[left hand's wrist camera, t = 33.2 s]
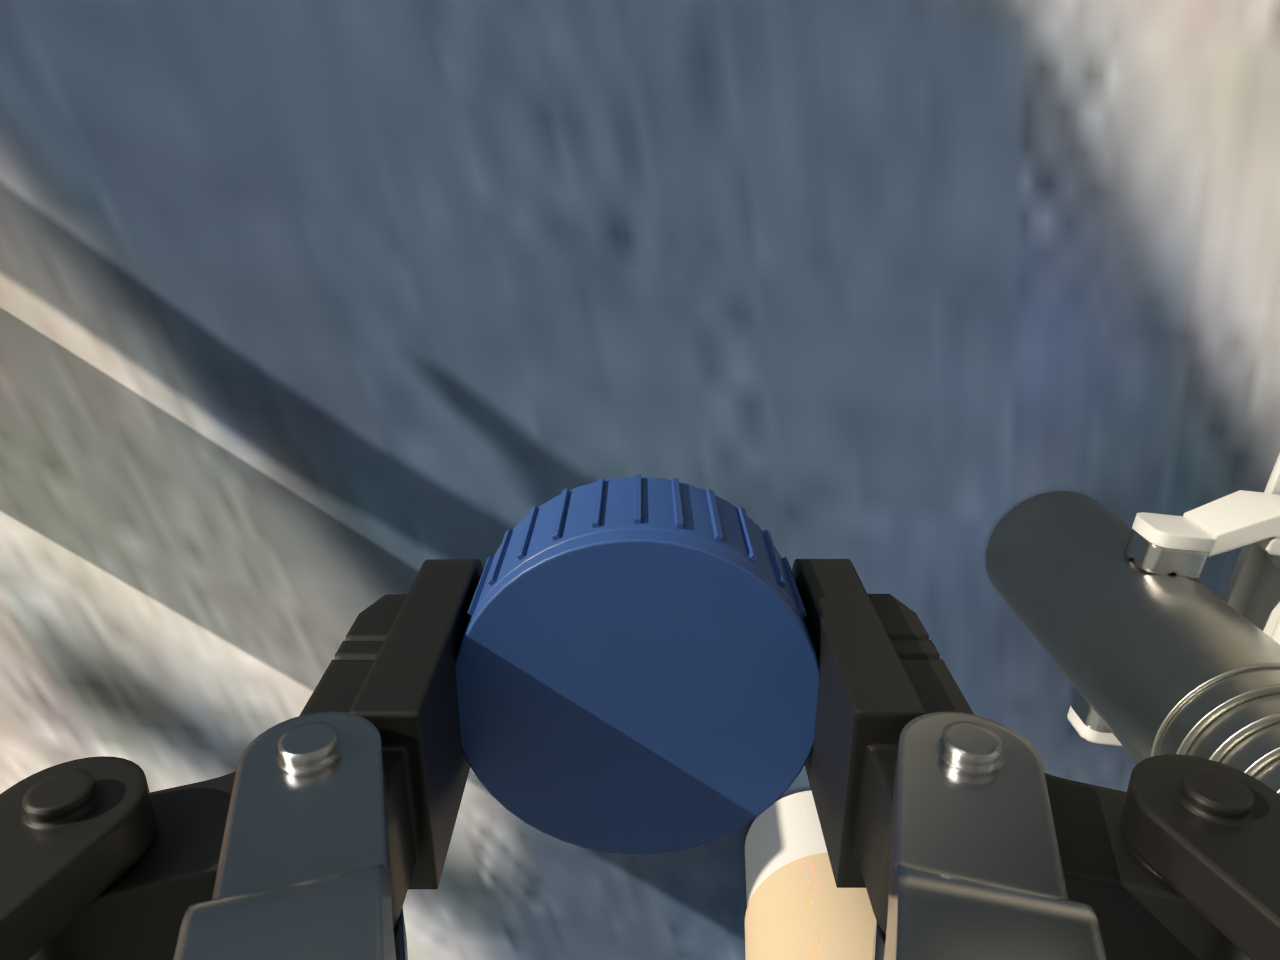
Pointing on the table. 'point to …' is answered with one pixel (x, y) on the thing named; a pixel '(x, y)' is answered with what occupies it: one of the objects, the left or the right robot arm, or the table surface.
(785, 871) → the coffee cup
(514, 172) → the table surface
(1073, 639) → the bottle
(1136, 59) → the table surface
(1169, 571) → the right robot arm
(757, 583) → the cap
